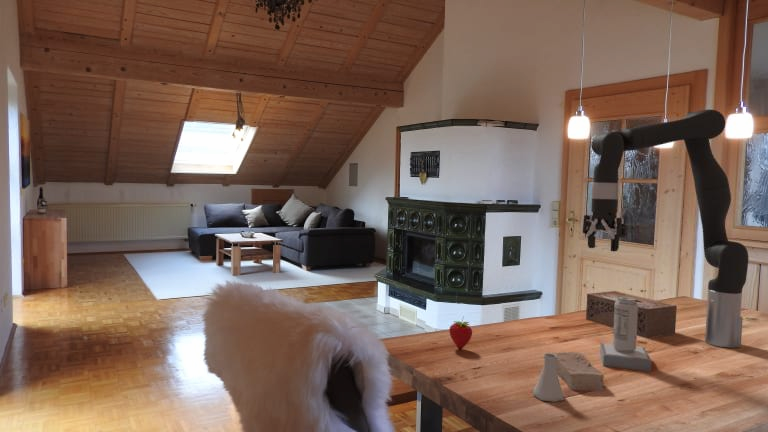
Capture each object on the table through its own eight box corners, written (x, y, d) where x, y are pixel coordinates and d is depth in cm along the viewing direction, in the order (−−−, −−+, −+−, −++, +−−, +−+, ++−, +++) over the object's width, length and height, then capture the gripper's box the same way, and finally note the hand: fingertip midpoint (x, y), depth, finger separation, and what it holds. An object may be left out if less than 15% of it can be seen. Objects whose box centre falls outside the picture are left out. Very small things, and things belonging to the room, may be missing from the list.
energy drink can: (640, 353, 151) (643, 300, 150) (622, 354, 149) (624, 301, 148) (626, 346, 156) (628, 295, 156) (608, 347, 155) (610, 296, 154)
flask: (528, 390, 130) (529, 350, 129) (557, 390, 131) (558, 350, 130) (539, 403, 123) (541, 360, 122) (569, 402, 123) (571, 360, 123)
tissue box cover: (585, 320, 200) (587, 293, 200) (613, 316, 207) (614, 290, 206) (645, 338, 177) (647, 309, 176) (675, 334, 183) (676, 305, 183)
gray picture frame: (644, 357, 157) (644, 347, 156) (650, 371, 145) (651, 359, 145) (600, 352, 160) (600, 342, 160) (603, 365, 149) (603, 354, 149)
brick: (605, 392, 131) (606, 373, 131) (571, 391, 131) (571, 372, 131) (580, 368, 147) (580, 352, 147) (549, 368, 147) (550, 351, 147)
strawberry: (457, 344, 166) (458, 312, 166) (476, 350, 160) (477, 317, 160) (444, 347, 162) (445, 315, 162) (463, 354, 157) (464, 320, 156)
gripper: (633, 198, 161) (630, 252, 162) (595, 196, 174) (592, 246, 175) (615, 198, 158) (613, 253, 159) (578, 196, 171) (576, 247, 172)
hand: (602, 249), depth 167 cm, fingers open, 8 cm apart
